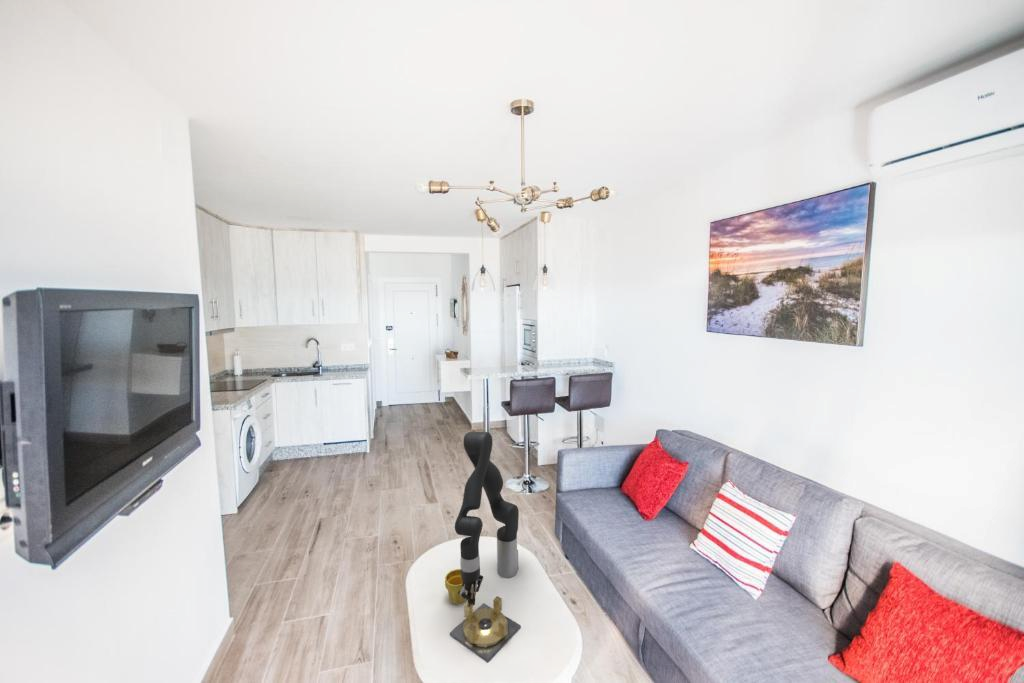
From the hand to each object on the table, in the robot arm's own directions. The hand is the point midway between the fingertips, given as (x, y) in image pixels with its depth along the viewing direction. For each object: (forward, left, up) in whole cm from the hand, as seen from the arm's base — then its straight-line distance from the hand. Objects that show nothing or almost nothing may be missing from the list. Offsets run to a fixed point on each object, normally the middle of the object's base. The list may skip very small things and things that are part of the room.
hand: (471, 604), depth 163 cm
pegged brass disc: (+2, +9, -5) cm, 10 cm away
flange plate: (+1, +9, -6) cm, 10 cm away
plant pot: (-5, -12, -6) cm, 15 cm away
